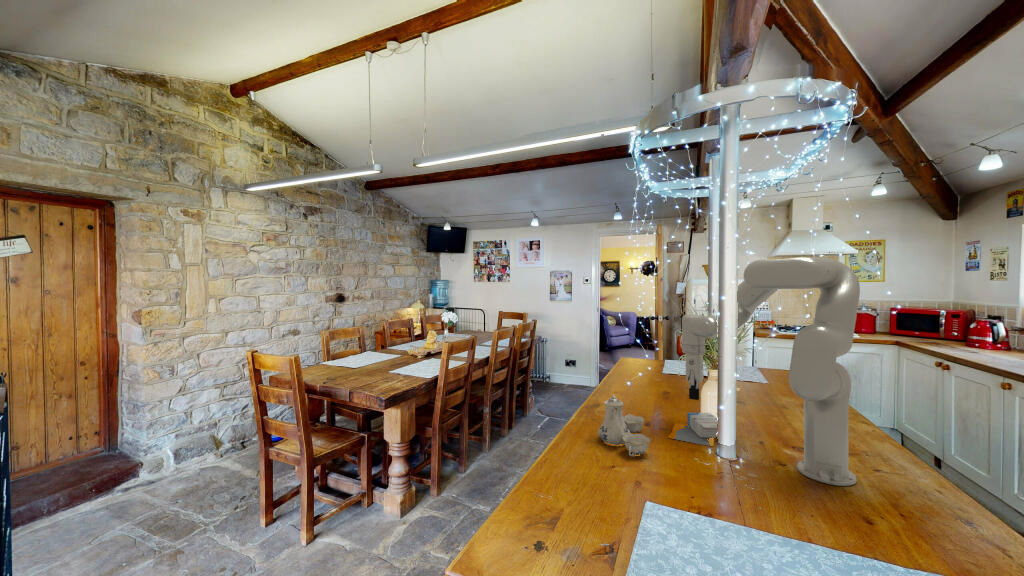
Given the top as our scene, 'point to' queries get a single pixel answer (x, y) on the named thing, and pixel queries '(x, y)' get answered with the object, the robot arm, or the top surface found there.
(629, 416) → the chinaware
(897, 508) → the top surface
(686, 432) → the mat
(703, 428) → the ink box
